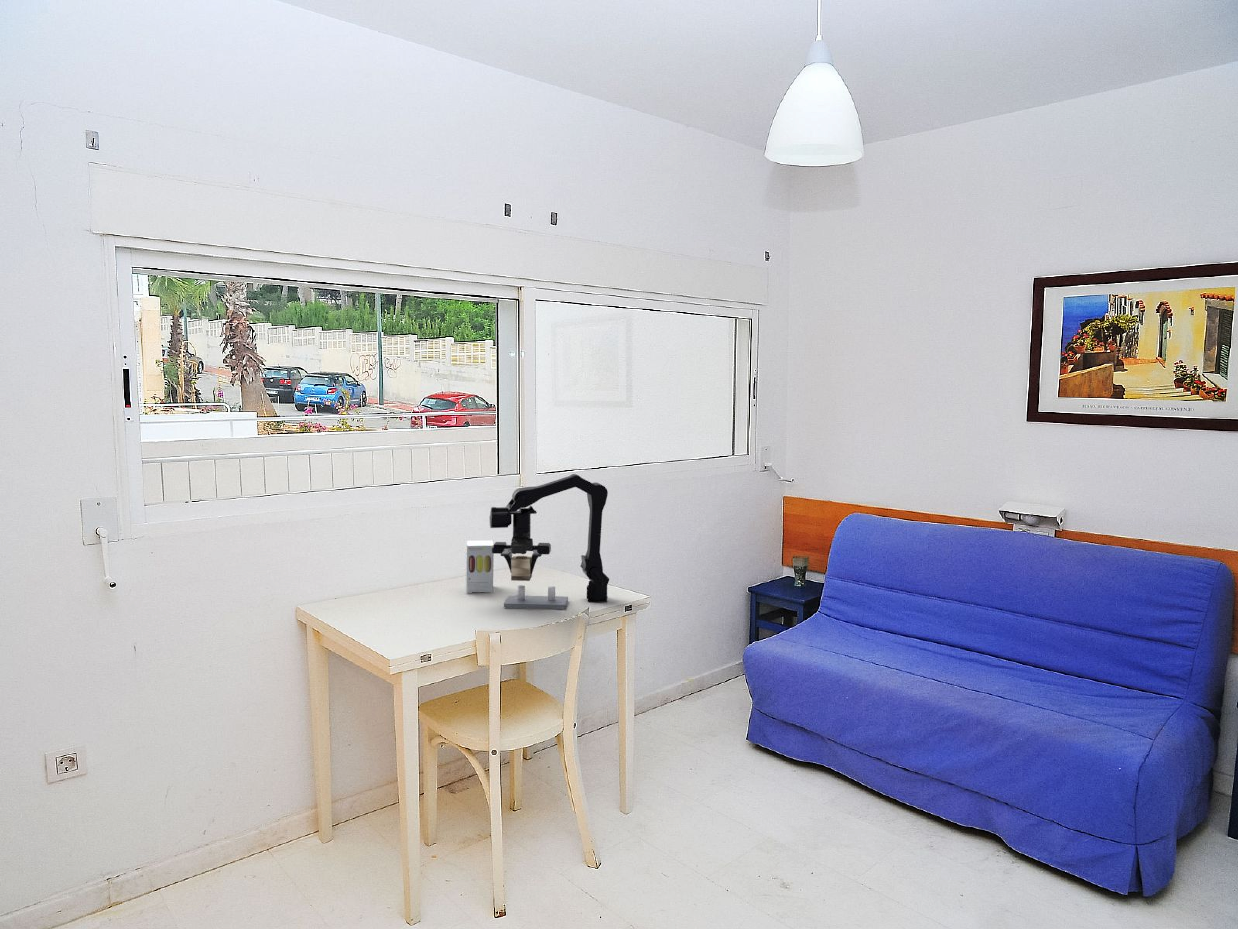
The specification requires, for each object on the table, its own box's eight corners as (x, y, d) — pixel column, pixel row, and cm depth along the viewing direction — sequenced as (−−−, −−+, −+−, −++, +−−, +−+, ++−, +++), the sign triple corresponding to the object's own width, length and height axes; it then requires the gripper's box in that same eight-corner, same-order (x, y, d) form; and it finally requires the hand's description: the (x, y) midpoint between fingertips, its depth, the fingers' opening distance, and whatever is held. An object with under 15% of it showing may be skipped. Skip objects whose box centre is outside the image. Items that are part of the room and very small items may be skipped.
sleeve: (531, 576, 269) (531, 555, 269) (529, 580, 263) (529, 559, 263) (513, 576, 269) (513, 555, 269) (511, 580, 264) (511, 559, 263)
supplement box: (466, 593, 279) (465, 545, 277) (465, 586, 288) (465, 540, 286) (494, 592, 281) (494, 545, 279) (492, 585, 290) (492, 539, 288)
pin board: (567, 600, 272) (568, 583, 272) (565, 609, 262) (565, 591, 262) (508, 599, 272) (508, 582, 272) (503, 608, 263) (503, 590, 262)
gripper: (488, 531, 257) (489, 579, 258) (547, 532, 257) (547, 580, 258) (494, 524, 268) (494, 571, 270) (551, 525, 268) (550, 572, 269)
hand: (521, 573), depth 266 cm, fingers closed on sleeve, 6 cm apart
